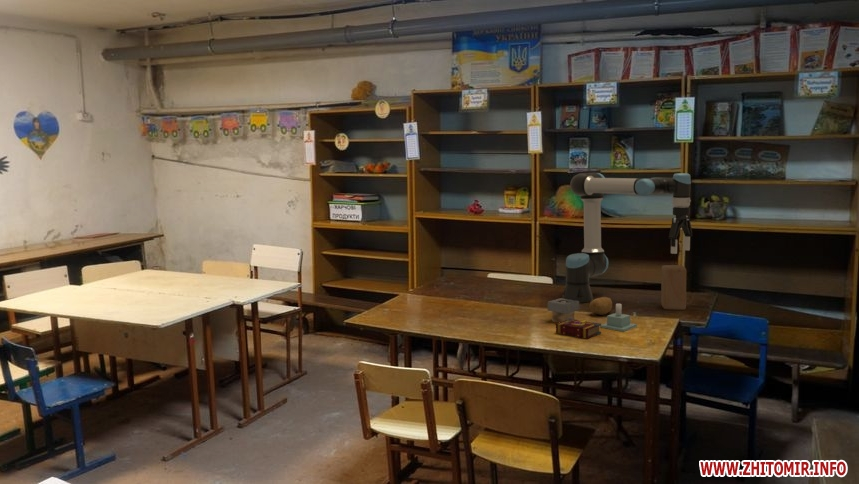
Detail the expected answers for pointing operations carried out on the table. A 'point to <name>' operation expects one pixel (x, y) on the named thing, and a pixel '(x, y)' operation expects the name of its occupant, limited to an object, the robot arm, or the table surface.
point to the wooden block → (673, 287)
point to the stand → (562, 315)
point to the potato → (601, 305)
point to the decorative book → (578, 328)
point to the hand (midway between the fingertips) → (680, 251)
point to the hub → (618, 321)
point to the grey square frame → (563, 305)
